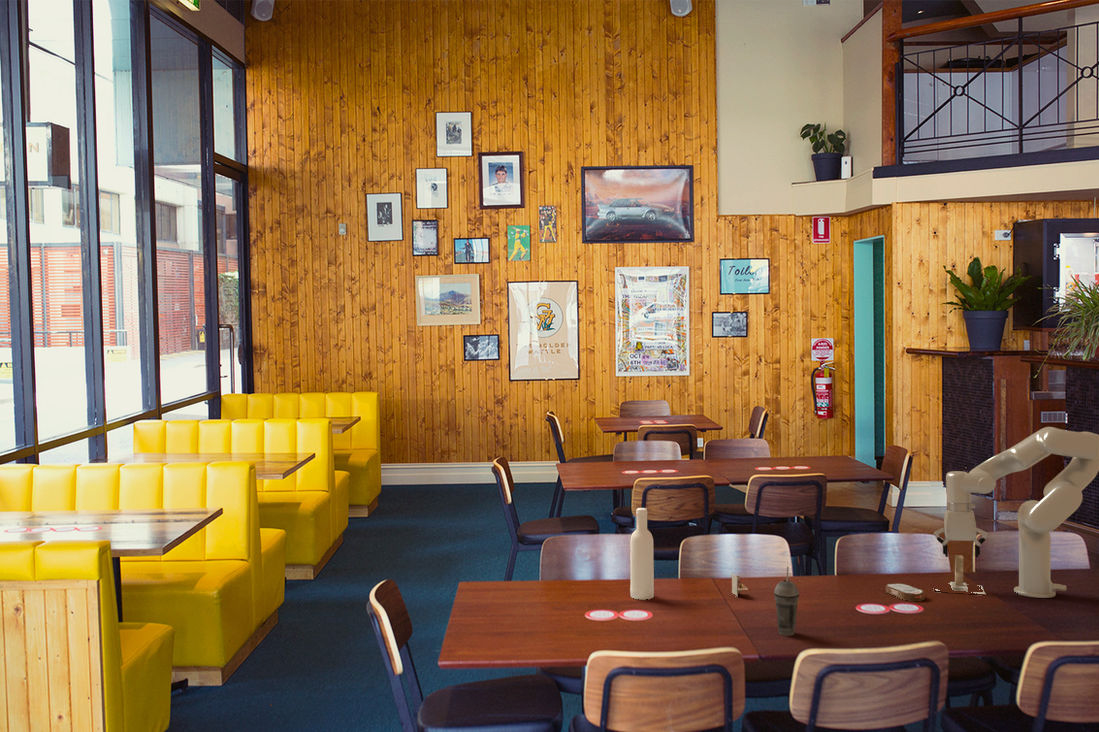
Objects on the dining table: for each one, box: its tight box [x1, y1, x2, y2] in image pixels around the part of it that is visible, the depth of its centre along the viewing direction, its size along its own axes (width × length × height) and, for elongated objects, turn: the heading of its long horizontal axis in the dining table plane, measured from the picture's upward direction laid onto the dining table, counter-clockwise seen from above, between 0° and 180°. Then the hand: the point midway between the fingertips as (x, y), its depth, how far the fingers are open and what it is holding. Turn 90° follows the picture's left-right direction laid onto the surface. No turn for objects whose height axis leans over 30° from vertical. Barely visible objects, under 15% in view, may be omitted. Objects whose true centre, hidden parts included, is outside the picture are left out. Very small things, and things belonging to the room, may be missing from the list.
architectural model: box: [731, 573, 749, 598], centre depth 318 cm, size 3×7×7 cm, turn 6°
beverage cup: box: [773, 566, 800, 637], centre depth 275 cm, size 7×7×20 cm
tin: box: [885, 582, 925, 602], centre depth 317 cm, size 15×3×8 cm
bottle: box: [629, 507, 655, 601], centre depth 317 cm, size 8×8×30 cm
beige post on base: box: [949, 555, 968, 592], centre depth 324 cm, size 5×8×11 cm, turn 162°
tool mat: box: [935, 585, 987, 596], centre depth 324 cm, size 16×12×1 cm
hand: (961, 556), depth 324 cm, fingers open, 9 cm apart
